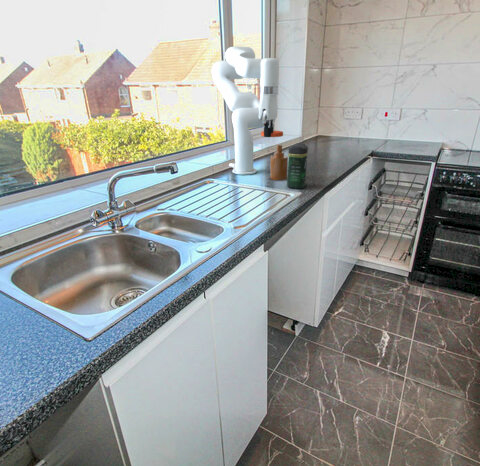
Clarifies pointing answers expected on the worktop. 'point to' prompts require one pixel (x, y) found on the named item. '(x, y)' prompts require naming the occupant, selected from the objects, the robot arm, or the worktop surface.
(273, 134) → the bung
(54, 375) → the worktop surface
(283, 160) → the bottle
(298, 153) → the coffee jar
